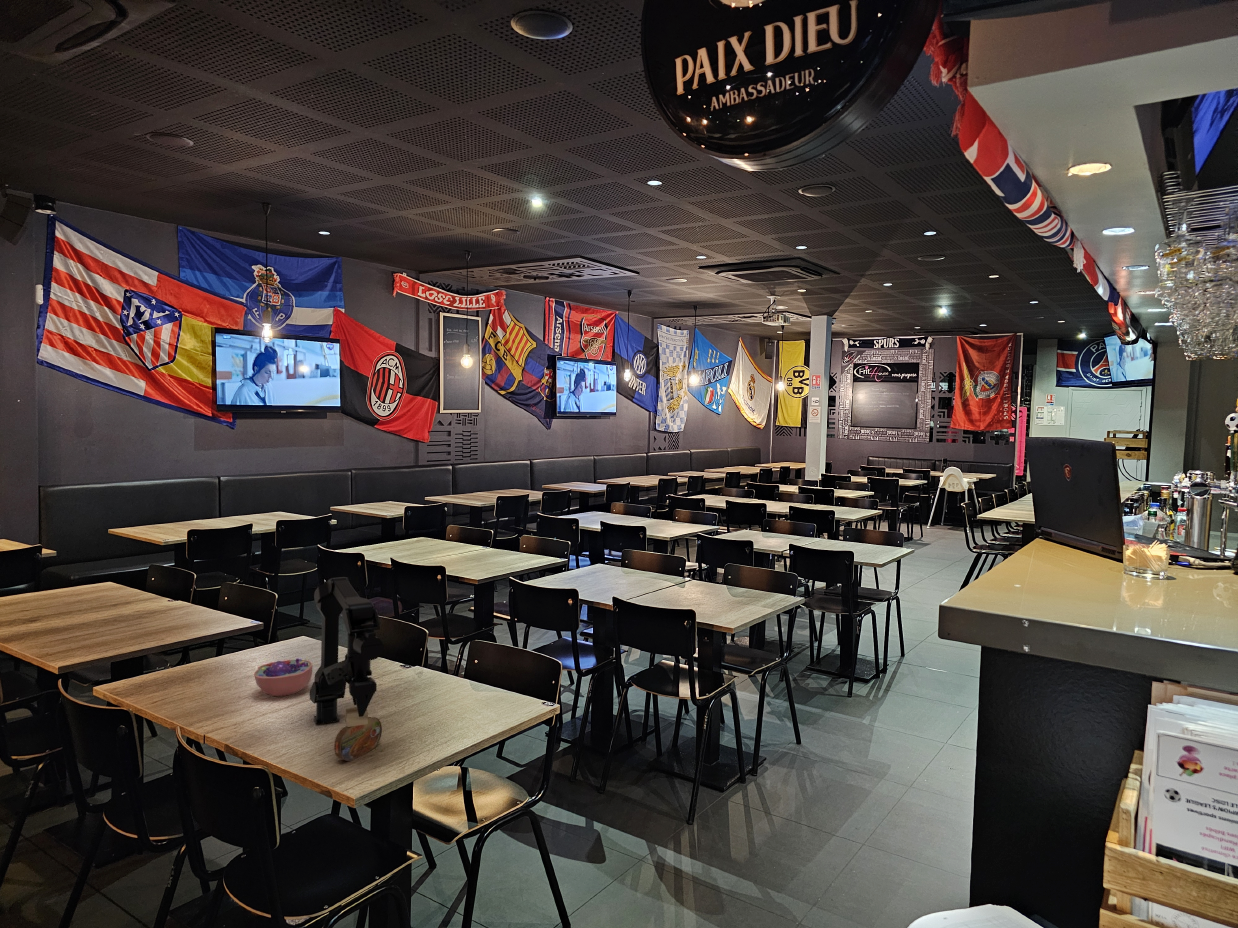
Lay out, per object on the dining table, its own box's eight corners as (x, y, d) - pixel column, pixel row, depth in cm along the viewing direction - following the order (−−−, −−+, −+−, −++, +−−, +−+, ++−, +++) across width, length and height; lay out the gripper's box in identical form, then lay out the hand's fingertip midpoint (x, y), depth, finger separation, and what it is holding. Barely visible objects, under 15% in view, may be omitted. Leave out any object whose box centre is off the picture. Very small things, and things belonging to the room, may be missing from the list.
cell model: (324, 684, 246) (325, 650, 246) (292, 705, 226) (292, 668, 226) (276, 681, 248) (276, 648, 248) (240, 702, 228) (240, 666, 228)
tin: (341, 766, 185) (341, 732, 184) (331, 763, 186) (332, 730, 186) (382, 744, 198) (383, 713, 198) (373, 742, 200) (373, 711, 199)
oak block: (344, 720, 193) (344, 708, 193) (364, 717, 195) (364, 705, 195) (347, 727, 188) (347, 714, 188) (367, 723, 190) (368, 711, 190)
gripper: (322, 645, 196) (321, 703, 196) (329, 664, 179) (329, 727, 180) (366, 640, 201) (365, 697, 201) (377, 658, 184) (376, 720, 185)
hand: (358, 710), depth 192 cm, fingers open, 9 cm apart
